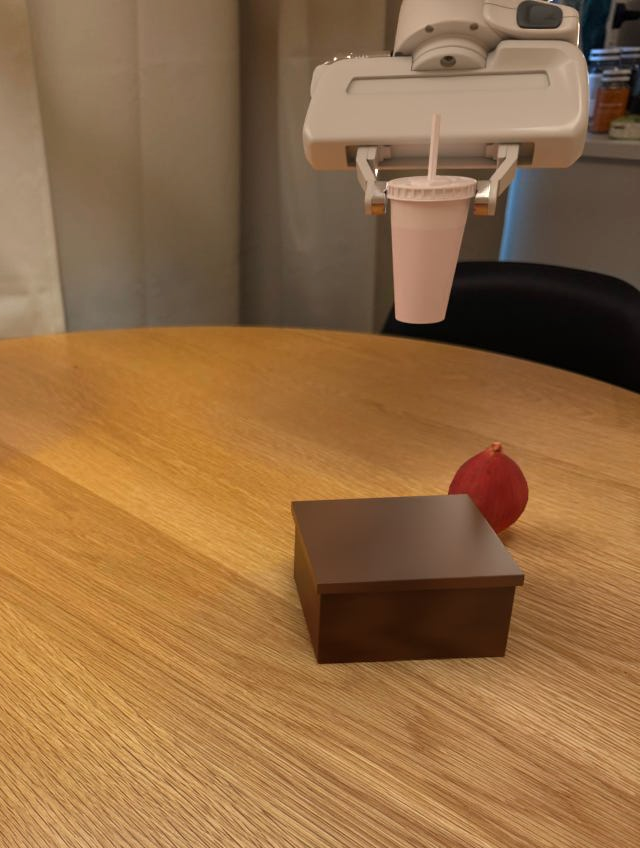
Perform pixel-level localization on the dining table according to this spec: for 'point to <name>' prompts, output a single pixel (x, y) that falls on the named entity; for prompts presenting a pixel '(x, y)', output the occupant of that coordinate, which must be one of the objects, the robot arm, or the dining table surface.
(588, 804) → the dining table surface
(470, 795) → the dining table surface
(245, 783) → the dining table surface
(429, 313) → the smoothie
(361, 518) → the walnut box
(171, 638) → the dining table surface
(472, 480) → the onion
